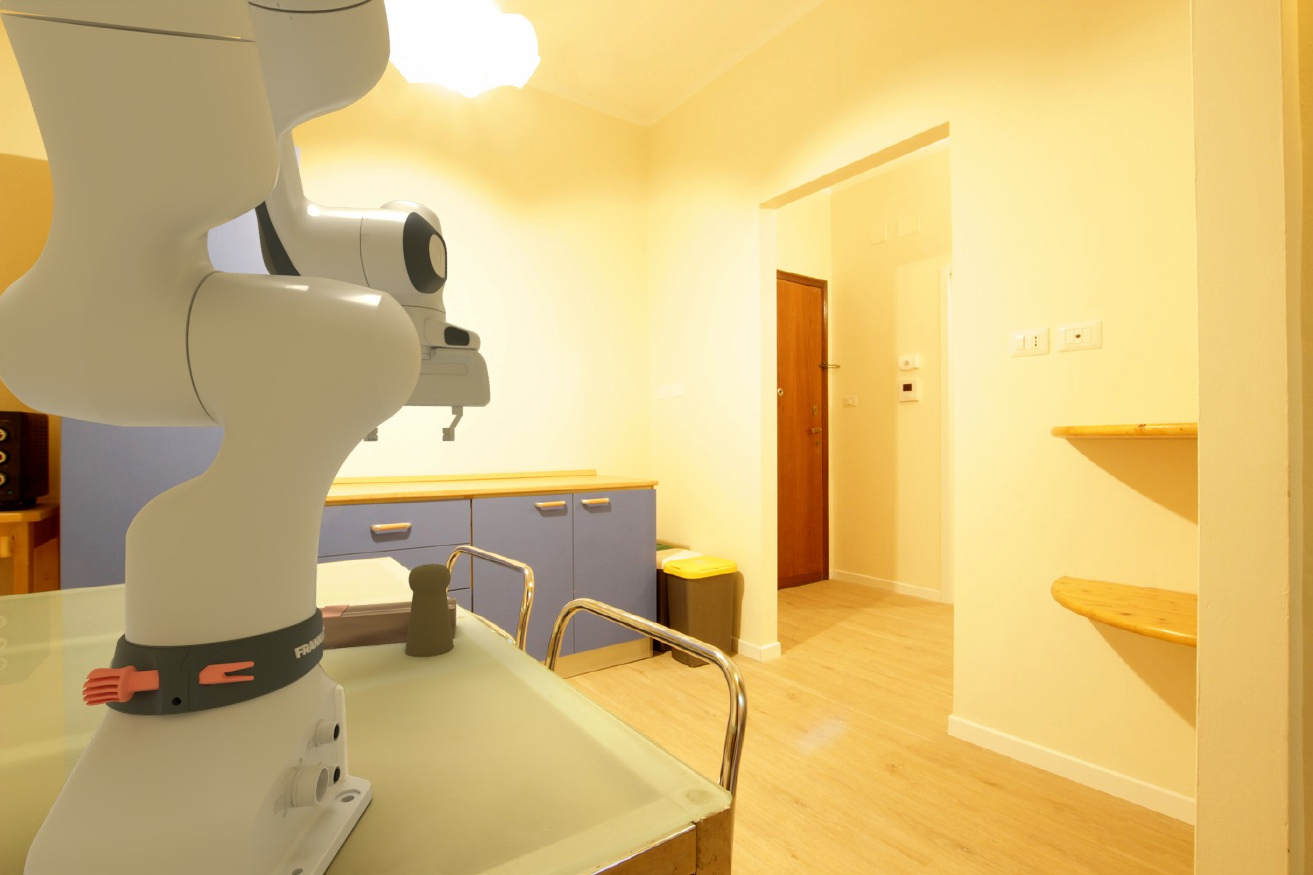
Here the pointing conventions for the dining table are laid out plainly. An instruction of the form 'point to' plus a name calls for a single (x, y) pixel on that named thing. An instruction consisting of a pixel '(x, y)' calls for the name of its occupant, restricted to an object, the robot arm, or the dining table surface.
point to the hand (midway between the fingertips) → (410, 441)
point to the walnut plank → (370, 623)
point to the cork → (429, 612)
